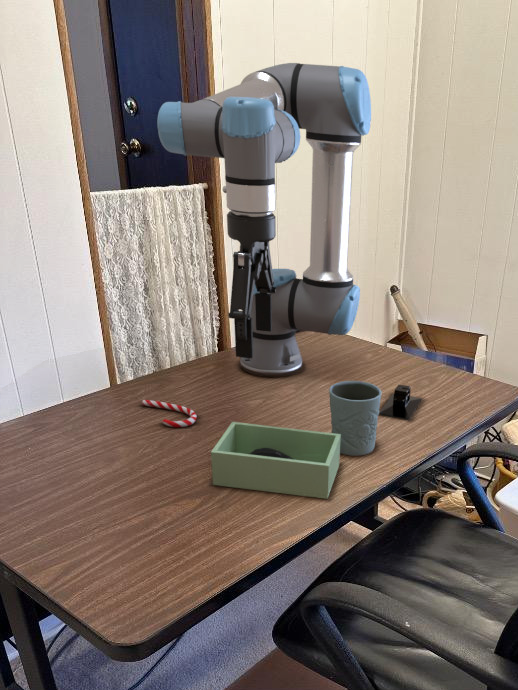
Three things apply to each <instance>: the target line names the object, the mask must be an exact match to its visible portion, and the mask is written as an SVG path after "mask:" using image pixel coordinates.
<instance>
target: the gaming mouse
mask: <svg viewBox="0 0 518 690" xmlns="http://www.w3.org/2000/svg"><path fill="white" fill-rule="evenodd" d="M249 454H251V455H259V456H267V457H276V458H284V459H293V458H291V457H289V456H288V455H286V454H284V453H282V452H280V451H277V450H274V449H271V448H261V449H255V450H254V451H252V452H251V453H249ZM293 460H294V459H293Z"/></svg>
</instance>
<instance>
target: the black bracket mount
mask: <svg viewBox="0 0 518 690" xmlns="http://www.w3.org/2000/svg"><path fill="white" fill-rule="evenodd" d="M411 388H412V386H409V385H404V384H397V386H396V387H395V389H394V393H392V394H391V395H390V397H389V398H388V400H387V401H386V403H385V404H384V405H383V407H382V408H381V409H379V415H380V416H385V417H389V418H395V419H400V420H407V421H410V420H411V419H412V417H413V415H414V413H415V412H416V410H417V409H418V407H419V406H420V404H421V402H422V401H423V397H417V396H411ZM379 415H378V416H379Z"/></svg>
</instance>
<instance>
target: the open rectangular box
mask: <svg viewBox="0 0 518 690" xmlns="http://www.w3.org/2000/svg"><path fill="white" fill-rule="evenodd" d="M340 439H341V434H334V433H331V432H325V431H316V430H307V429H300V428H299V429H298V428H292V427H291V428H290V427H281V426H273V425H272V426H271V425H264V424H257V423H249V422H248V423H246V422H245V423H244V422H239V421H231V423H230V424H229V426H228V427H227V429H226V430H225V431H224V433H223V434H222V435H221V437H220V439H219V440H218V441H217V443H216V444H215V446H214V447H213V448H212V450H211V451H210V459H211V461H210V462H211V476H212V486H219V487H228V488H236V489H244V490H252V491H261V492H267V493H268V492H269V493H276V494H285V495H291V496H292V495H293V496H300V497H307V498H308V497H309V498H317V499H325V500H328V499H329V496H330V493H331V490H332V488H333V485H334V482H335V479H336V476H337V473H338V470H339V467H340V457H341V453H340ZM261 448H271V449H274V450H277V451H280V452H282V453H284V454H286V455H288V456H289V457H291V458H293V459H294V460H293V459H284V458H276V457H267V456H259V455H251V454H249V453H251V452H252V451H254V450H255V449H261Z"/></svg>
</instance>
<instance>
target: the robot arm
mask: <svg viewBox="0 0 518 690" xmlns="http://www.w3.org/2000/svg"><path fill="white" fill-rule="evenodd" d="M371 121H372V99H371V91H370V87H369V82H368V79H367V77H366V75H365V73H364V72H363V71H362V70H360V69H358V68H354V67H349V66H345V65H339V66H338V65H327V64H324V65H323V64H311V63H299V62H287V63H280V64H279V63H278V64H276V65H272V66H269V67H265V68H261V69H259V70H255V71H253V72H251V73H249V74H247V75H246V76H245V77H244V78H243V79H242V80H241V82H240V83H239V84H237V85H235V86H233V87H230V88H227V89H224V90H222V91H220V92H218V93H214V94H212V95H209V96H207V97H204V98H201V99H199V100H196V101H194V102H182V101H181V100H179V101H165V102H164V103H162V105H161V106H160V107H159V110H158V114H157V121H156V123H157V132H158V137H159V140H160V143H161V145H162V147H163V148H164V149H165V150H166V151H167V152H169V153H171V154H172V153H173V154H179V155H183V156H185V157H187V156H194V157H195V156H196V157H206V158H217V159H220V158H221V159H223V160H224V179H225V185H224V186H223V187H222V192H223V193H224V194H226V197H225V198H226V199H225V200H226V208H227V209H228V210H229V211H228V212H227V213H226V229H227V235H228V237H229V238H230V239H231V240H233V241H237V242H238V243H239V250H238V251H233V254H232V258H233V265H232V266H233V267H232V280H231V292H230V293H231V295H230V306H229V312H227V317H228V319H233V320H234V322H233V324H234V341H235V342H234V344H235V358H239V362H240V364H239V365H240V368H241V369H242V370H243V371H244V372H245V373H248V374H249V375H253V376H257V377H258V376H259V377H265V378H283V377H288V376H291V375H295V374H297V373H299V372H300V371H301V370H302V369H303V358H302V354H301V351H300V348H299V346H298V342H297V339H296V332H298V331H299V332H300V331H304V332H313V333H320V334H326V335H329V336H331V335H334V336H335V335H337V336H345V335H347V334H348V333H349V332H350V331H351V330H352V328H353V325H354V323H355V321H356V317H357V315H358V314H357V313H358V309H359V306H360V305H359V304H360V298H361V288H360V286H358V285H356V284H354V275H353V273H352V272H351V271H350V269H348V258H349V240H350V225H351V224H350V223H351V222H350V221H351V204H352V203H351V202H352V188H353V187H352V185H353V184H352V183H353V167H354V153H355V151H356V150H357V149H358V148H359V147H360V146H361V145H362V137H364V136H366V135H368V134H369V133H370V130H371ZM300 130H305V141H306V142H307V143H308V145H309V146H310V147H311V149H312V161H311V162H312V165H311V166H312V167H311V168H312V169H311V202H310V203H311V207H310V239H309V240H310V242H309V243H310V245H309V247H310V248H309V266H308V267H307V268H306V269H305V270H304V271H303V272H302V278H297V273H296V271H295V270H293V269H290V268H273V265H272V256H271V251H270V249H271V248H270V242H271V241H273V240H274V239H275V238H276V236H277V235H276V233H277V231H276V230H277V229H276V227H277V226H276V215H275V214H274V213H273V212H275V210H276V207H277V205H276V203H277V202H276V201H277V200H276V198H277V197H276V164H282V163H283V162H286V161H288V160H289V159H290V158H291V157H292V156H294V155H295V153H297V151H298V149H299V146H300V143H301V131H300Z"/></svg>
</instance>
